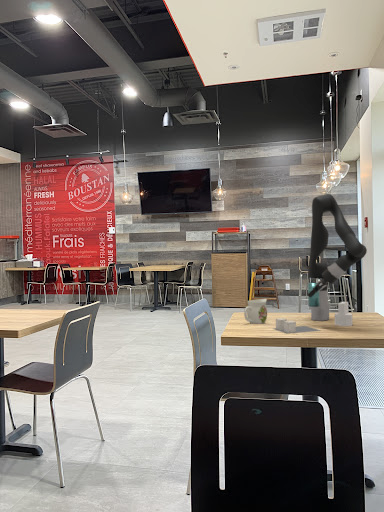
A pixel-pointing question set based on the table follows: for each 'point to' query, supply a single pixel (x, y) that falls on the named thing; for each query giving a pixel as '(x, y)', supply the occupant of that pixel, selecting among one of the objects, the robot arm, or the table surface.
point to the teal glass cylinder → (315, 298)
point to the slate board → (300, 329)
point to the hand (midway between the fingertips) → (310, 295)
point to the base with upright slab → (343, 315)
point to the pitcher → (256, 311)
